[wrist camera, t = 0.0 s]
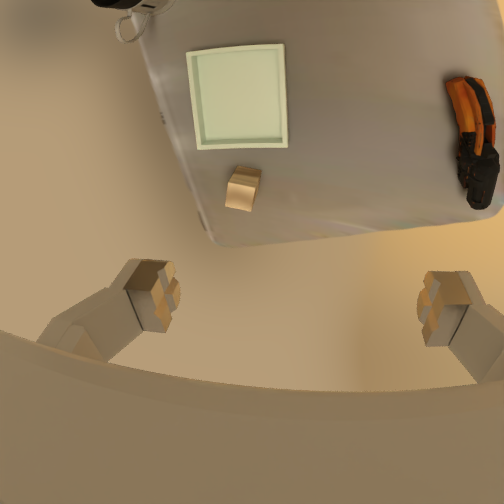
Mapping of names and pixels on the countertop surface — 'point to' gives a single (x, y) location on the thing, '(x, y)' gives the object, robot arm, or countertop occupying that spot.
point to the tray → (239, 96)
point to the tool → (475, 139)
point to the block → (243, 188)
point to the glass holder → (148, 3)
